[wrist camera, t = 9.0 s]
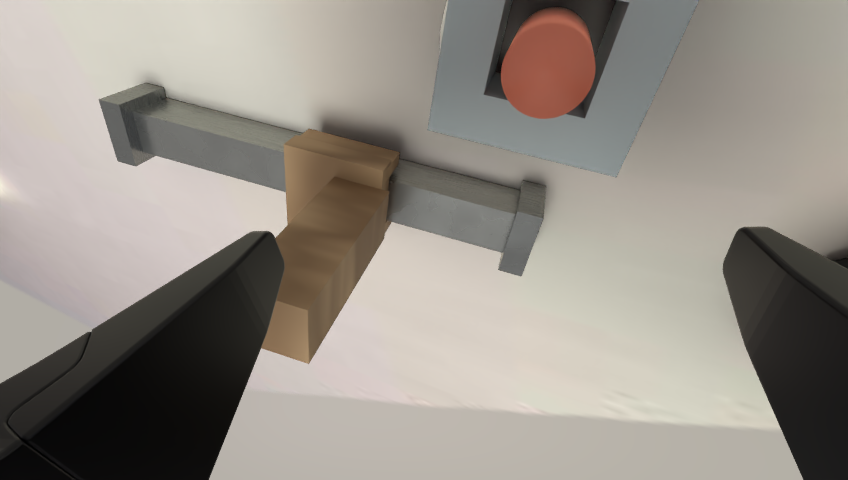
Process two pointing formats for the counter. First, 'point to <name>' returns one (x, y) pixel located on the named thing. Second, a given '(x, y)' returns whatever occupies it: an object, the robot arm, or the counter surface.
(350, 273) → the wooden t-block
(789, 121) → the counter surface
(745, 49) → the counter surface
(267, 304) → the robot arm
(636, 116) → the box
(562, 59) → the button
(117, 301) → the counter surface
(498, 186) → the rail
